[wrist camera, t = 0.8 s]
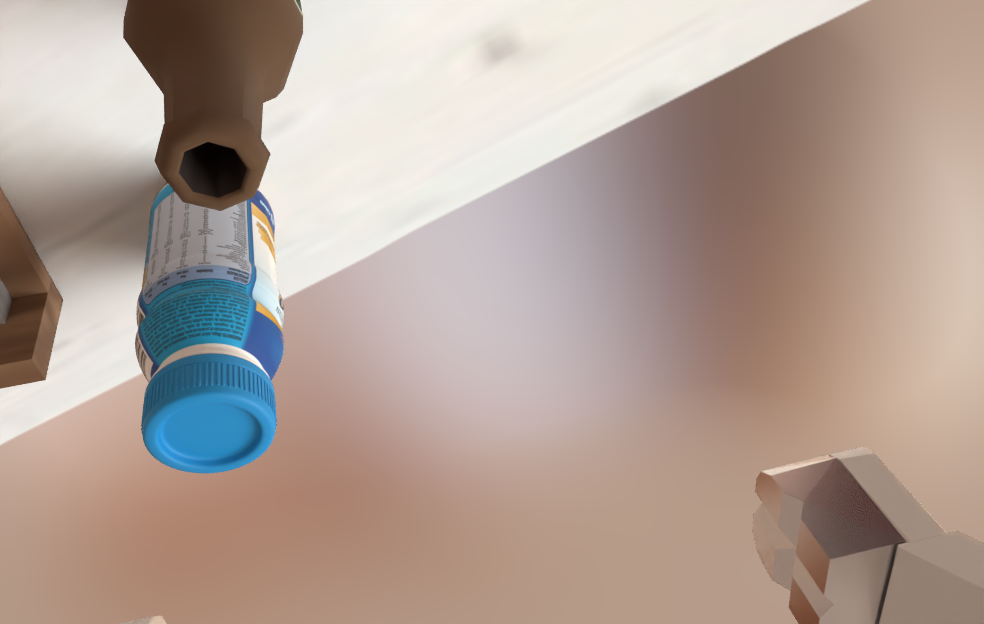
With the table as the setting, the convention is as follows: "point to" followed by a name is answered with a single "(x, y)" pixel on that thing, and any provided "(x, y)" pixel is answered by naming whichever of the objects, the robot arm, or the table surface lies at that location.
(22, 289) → the door track
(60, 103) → the table surface
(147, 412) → the beverage bottle
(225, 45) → the beer bottle
